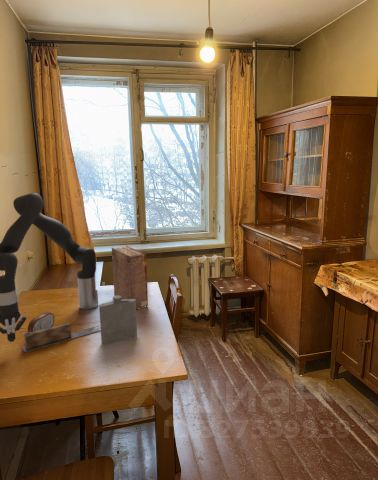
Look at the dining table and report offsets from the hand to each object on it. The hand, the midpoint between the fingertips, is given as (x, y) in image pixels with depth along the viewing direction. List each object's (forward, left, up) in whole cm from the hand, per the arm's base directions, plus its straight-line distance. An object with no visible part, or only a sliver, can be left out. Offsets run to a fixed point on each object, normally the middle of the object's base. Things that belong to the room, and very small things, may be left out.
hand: (11, 341), depth 145 cm
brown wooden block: (-15, 0, -5) cm, 16 cm away
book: (-64, -22, -6) cm, 68 cm away
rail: (-22, 0, -5) cm, 22 cm away
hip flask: (-41, +15, -6) cm, 44 cm away
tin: (-15, -13, -6) cm, 20 cm away
